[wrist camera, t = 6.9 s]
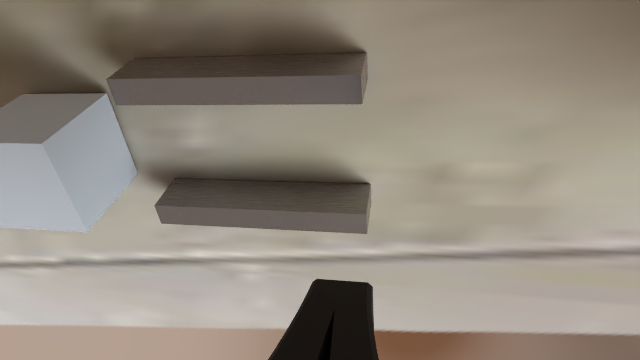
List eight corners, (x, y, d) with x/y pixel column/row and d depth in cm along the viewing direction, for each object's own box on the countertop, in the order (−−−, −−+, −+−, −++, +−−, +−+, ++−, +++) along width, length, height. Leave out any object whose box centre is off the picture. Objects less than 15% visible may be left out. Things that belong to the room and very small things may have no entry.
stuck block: (106, 93, 18) (41, 143, 15) (137, 173, 21) (87, 232, 18) (22, 94, 19) (-56, 142, 16) (62, 171, 21) (0, 227, 18)
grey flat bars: (366, 52, 16) (361, 75, 14) (370, 202, 20) (367, 233, 18) (134, 58, 17) (106, 79, 16) (180, 195, 21) (161, 223, 20)
